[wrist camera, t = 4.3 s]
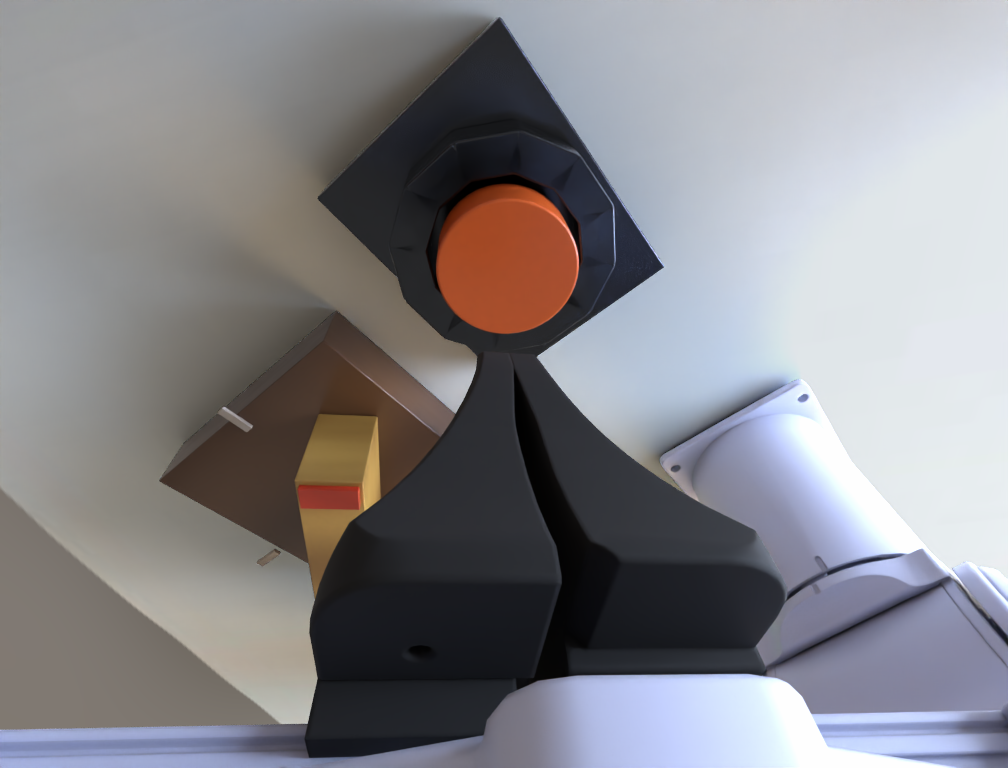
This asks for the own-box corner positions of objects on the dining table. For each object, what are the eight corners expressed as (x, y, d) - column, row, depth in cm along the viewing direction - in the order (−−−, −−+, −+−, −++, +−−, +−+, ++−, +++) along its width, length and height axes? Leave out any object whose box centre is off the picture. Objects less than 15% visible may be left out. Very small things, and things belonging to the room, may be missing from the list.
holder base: (556, 466, 28) (564, 504, 25) (370, 578, 32) (364, 619, 30) (351, 276, 21) (338, 306, 19) (152, 453, 25) (123, 494, 23)
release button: (594, 258, 18) (606, 279, 16) (495, 332, 19) (497, 358, 18) (515, 151, 16) (520, 165, 14) (410, 243, 17) (405, 264, 15)
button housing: (653, 252, 21) (683, 289, 18) (500, 362, 24) (505, 409, 21) (497, 16, 16) (504, 16, 13) (325, 187, 19) (301, 217, 16)
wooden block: (383, 564, 27) (372, 638, 24) (336, 563, 27) (319, 639, 24) (377, 415, 22) (362, 487, 18) (318, 413, 21) (292, 485, 18)
